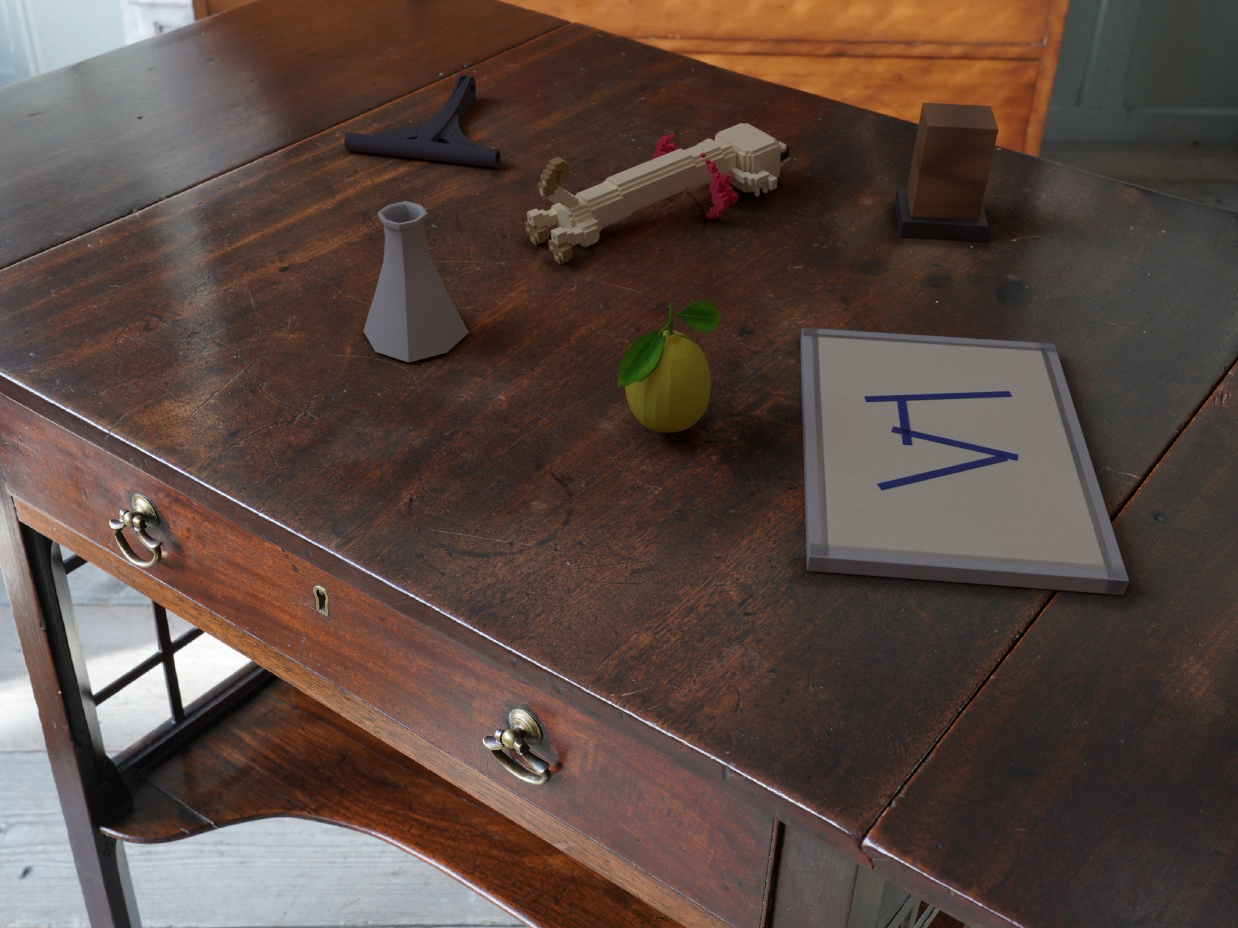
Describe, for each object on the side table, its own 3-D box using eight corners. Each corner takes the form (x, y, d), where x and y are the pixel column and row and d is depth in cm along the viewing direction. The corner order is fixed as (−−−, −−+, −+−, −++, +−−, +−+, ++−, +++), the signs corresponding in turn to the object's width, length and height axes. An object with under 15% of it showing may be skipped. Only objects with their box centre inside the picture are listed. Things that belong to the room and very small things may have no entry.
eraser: (975, 207, 105) (999, 102, 99) (985, 242, 101) (1010, 133, 95) (894, 203, 106) (912, 98, 100) (899, 237, 101) (919, 129, 95)
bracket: (540, 105, 121) (539, 78, 119) (495, 171, 110) (493, 142, 108) (402, 91, 123) (399, 64, 121) (345, 154, 112) (341, 126, 110)
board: (1050, 357, 88) (1054, 342, 87) (1123, 595, 70) (1129, 579, 69) (800, 341, 89) (802, 326, 88) (806, 571, 71) (809, 555, 70)
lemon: (714, 402, 83) (724, 275, 77) (720, 457, 79) (730, 327, 72) (616, 401, 83) (618, 274, 77) (616, 456, 79) (618, 326, 72)
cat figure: (579, 292, 96) (818, 187, 106) (570, 194, 90) (824, 92, 100) (514, 240, 103) (745, 145, 112) (502, 145, 97) (747, 54, 106)
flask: (346, 334, 89) (327, 211, 83) (425, 298, 93) (412, 177, 87) (406, 376, 85) (390, 250, 79) (486, 336, 89) (477, 213, 83)
